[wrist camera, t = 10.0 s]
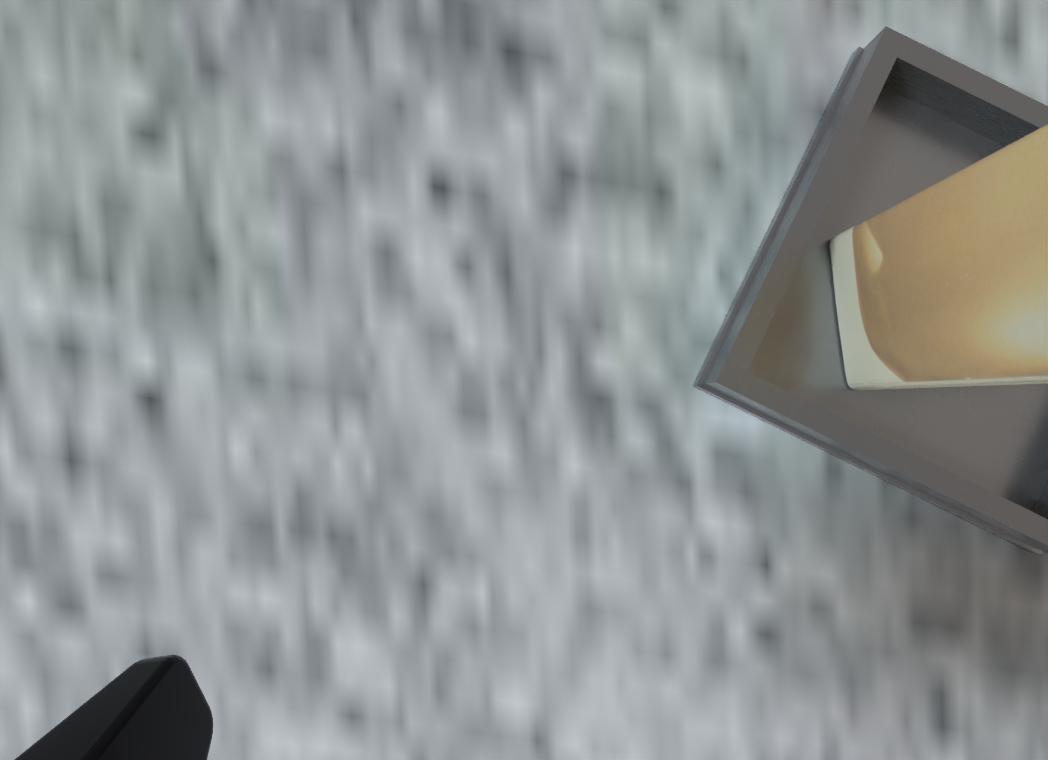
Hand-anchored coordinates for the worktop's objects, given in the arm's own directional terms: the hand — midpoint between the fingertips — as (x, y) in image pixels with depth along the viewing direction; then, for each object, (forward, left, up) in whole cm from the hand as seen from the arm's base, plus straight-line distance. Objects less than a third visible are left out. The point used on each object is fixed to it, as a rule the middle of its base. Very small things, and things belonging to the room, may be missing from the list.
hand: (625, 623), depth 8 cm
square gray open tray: (+9, -8, -13) cm, 18 cm away
